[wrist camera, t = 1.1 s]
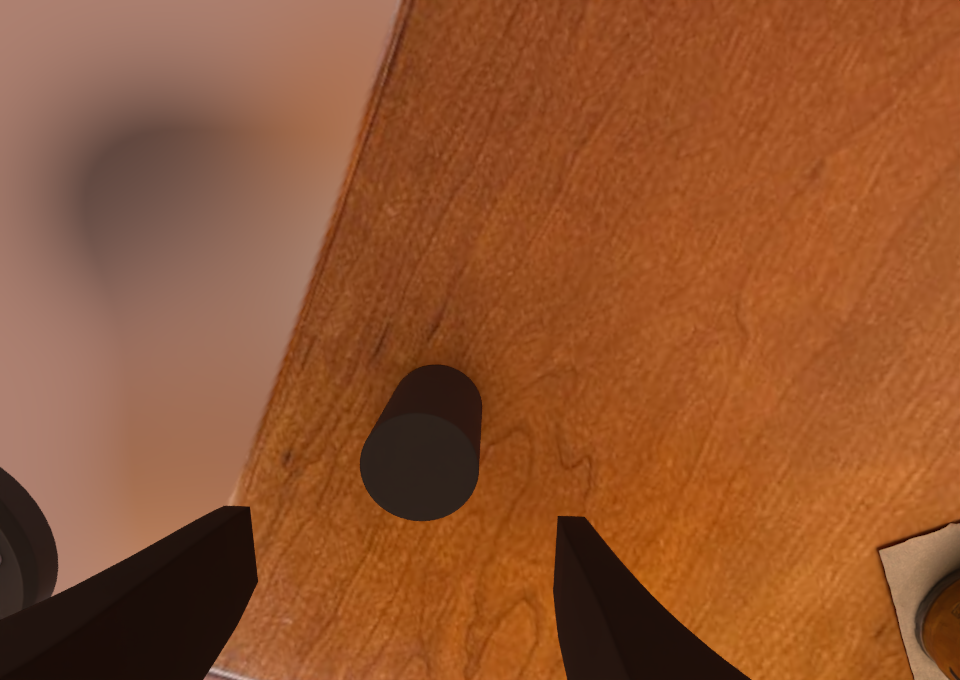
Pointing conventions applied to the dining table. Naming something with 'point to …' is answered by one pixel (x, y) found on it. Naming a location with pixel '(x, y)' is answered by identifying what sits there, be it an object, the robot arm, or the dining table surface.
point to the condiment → (928, 601)
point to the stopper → (425, 445)
